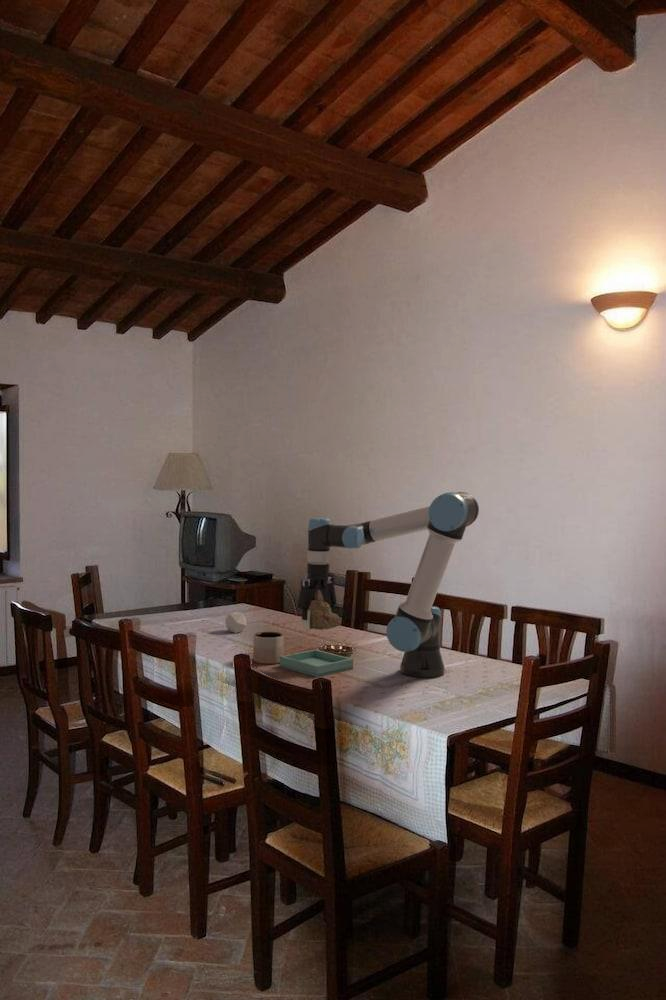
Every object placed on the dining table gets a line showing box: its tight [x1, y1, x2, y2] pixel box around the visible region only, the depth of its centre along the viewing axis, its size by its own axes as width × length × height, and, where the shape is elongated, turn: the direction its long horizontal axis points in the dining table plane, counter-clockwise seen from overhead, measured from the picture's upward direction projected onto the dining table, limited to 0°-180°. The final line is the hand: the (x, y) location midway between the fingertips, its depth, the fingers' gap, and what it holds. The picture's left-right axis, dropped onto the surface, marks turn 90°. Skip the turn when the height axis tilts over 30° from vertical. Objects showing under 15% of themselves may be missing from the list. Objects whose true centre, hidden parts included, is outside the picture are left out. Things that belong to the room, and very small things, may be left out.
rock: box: [305, 599, 341, 631], centre depth 290 cm, size 11×12×10 cm
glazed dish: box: [279, 649, 354, 678], centre depth 290 cm, size 19×17×4 cm
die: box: [224, 611, 247, 634], centre depth 347 cm, size 8×9×10 cm
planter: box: [252, 631, 285, 665], centre depth 298 cm, size 11×11×10 cm
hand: (316, 627), depth 289 cm, fingers closed on rock, 9 cm apart
